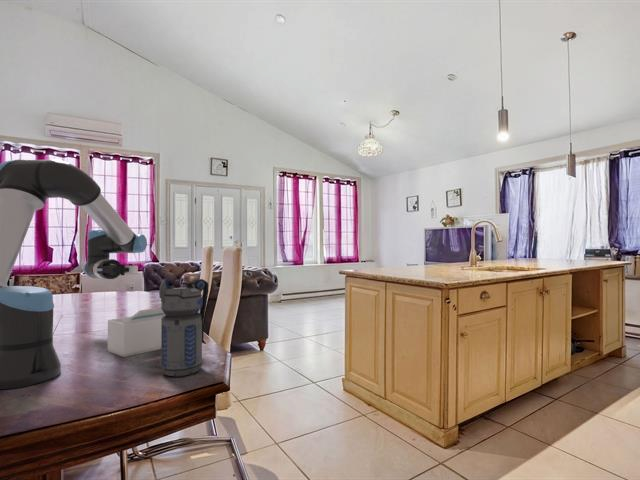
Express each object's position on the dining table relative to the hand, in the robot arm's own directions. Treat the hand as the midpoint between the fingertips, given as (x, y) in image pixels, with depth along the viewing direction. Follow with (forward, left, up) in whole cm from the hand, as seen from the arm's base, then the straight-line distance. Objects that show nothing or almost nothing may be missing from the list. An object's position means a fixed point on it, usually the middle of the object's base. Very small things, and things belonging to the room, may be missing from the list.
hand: (135, 269), depth 123 cm
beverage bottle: (-33, -17, -26) cm, 45 cm away
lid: (-14, -9, -13) cm, 21 cm away
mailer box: (-4, -2, -26) cm, 26 cm away
